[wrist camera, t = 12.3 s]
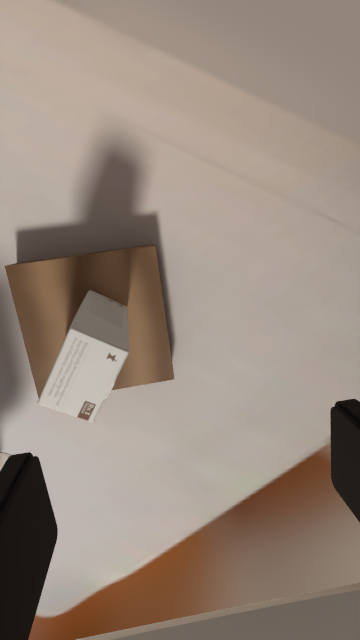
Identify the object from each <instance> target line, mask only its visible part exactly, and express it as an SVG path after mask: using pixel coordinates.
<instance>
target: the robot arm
mask: <svg viewBox="0 0 360 640" xmlns="http://www.w3.org/2000/svg"><path fill="white" fill-rule="evenodd" d="M331 479H332V482H333V485H334V487H335V489H336V491H337V492H338V493H339V495H340V496H341V497H342V499H343V500H344V501H345V503H346V504H347V506H348V507H349V508H350V510H351V511H352V512H353V514H354V515H355V516H356V518H357V519H358V521H359V522H360V402H359V401H358V400H356V399H350V400H344V401H338V402H336V404H335V407H332V408H331ZM56 540H57V524H56V520H55V517H54V513H53V509H52V506H51V502H50V498H49V494H48V491H47V487H46V483H45V480H44V476H43V472H42V468H41V465H40V461H39V458H38V457H37V456H34V457H33V455H32V454H31V453H23V454H16V455H11V456H9V457H8V459H7V460H6V462H5V464H4V465H3V467H2V469H1V470H0V640H28V638H29V634H30V631H31V627H32V624H33V621H34V617H35V614H36V610H37V607H38V603H39V600H40V596H41V593H42V589H43V586H44V582H45V579H46V575H47V572H48V568H49V565H50V561H51V558H52V554H53V551H54V547H55V544H56ZM77 640H360V583H356V584H351V585H345V586H340V587H335V588H330V589H325V590H320V591H314V592H309V593H304V594H299V595H294V596H289V597H284V598H279V599H274V600H268V601H264V602H259V603H254V604H249V605H244V606H238V607H233V608H228V609H223V610H218V611H214V612H208V613H203V614H199V615H194V616H188V617H183V618H179V619H173V620H169V621H164V622H159V623H154V624H149V625H144V626H140V627H135V628H130V629H125V630H120V631H115V632H110V633H106V634H101V635H96V636H91V637H86V638H81V639H77Z"/></svg>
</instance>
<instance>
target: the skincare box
mask: <svg viewBox="0 0 360 640" xmlns="http://www.w3.org/2000/svg"><path fill="white" fill-rule="evenodd" d="M128 354H129V333H128V308H127V307H126V306H124V305H122V304H120V303H118V302H116V301H114V300H111V299H109V298H107V297H105V296H103V295H101V294H98V293H96V292H94V291H91V290H89V291H88V292H87V294H86V296H85V298H84V300H83V302H82V303H81V305H80V307H79V309H78V311H77V313H76V315H75V317H74V320H73V322H72V324H71V326H70V328H69V330H68V333H67V335H66V337H65V339H64V342H63V344H62V346H61V348H60V351H59V353H58V355H57V358H56V360H55V362H54V365H53V367H52V369H51V372H50V374H49V376H48V379H47V381H46V383H45V386H44V388H43V391H42V393H41V396H40V398H39V400H38V402H37V403H38V404H39V405H43V406H46V407H48V408H51V409H54V410H57V411H60V412H63V413H66V414H69V415H72V416H75V417H77V418H80V419H83V420H86V421H89V422H91V423H93V422H94V421H95V419H96V417H97V415H98V413H99V411H100V409H101V407H102V405H103V403H104V402H105V400H106V398H107V396H108V395H109V394H110V392H111V390H112V388H113V386H114V384H115V380H116V378H117V376H118V374H119V372H120V370H121V368H122V366H123V364H124V362H125V360H126V358H127V356H128Z"/></svg>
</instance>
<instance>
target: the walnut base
mask: <svg viewBox="0 0 360 640" xmlns="http://www.w3.org/2000/svg"><path fill="white" fill-rule="evenodd" d="M5 269H6V272H7V276H8V280H9V284H10V288H11V292H12V296H13V300H14V304H15V308H16V311H17V315H18V319H19V323H20V327H21V331H22V335H23V339H24V343H25V347H26V351H27V354H28V358H29V362H30V366H31V370H32V374H33V378H34V382H35V386H36V390H37V394H38V397H39V398H40V396H41V393H42V391H43V388H44V386H45V383H46V381H47V379H48V376H49V374H50V372H51V369H52V367H53V365H54V362H55V360H56V358H57V355H58V353H59V351H60V348H61V346H62V344H63V342H64V339H65V337H66V335H67V333H68V330H69V328H70V326H71V324H72V322H73V320H74V317H75V315H76V313H77V311H78V309H79V307H80V305H81V303H82V302H83V300H84V298H85V296H86V294H87V292H88V291H89V290H91V291H94V292H96V293H98V294H101V295H103V296H105V297H107V298H109V299H111V300H114V301H116V302H118V303H120V304H122V305H124V306H126V307H127V308H128V333H129V354H128V356H127V358H126V360H125V362H124V364H123V366H122V368H121V370H120V372H119V374H118V376H117V378H116V380H115V384H114V386H113V388H112V390H115V389H121V388H127V387H132V386H138V385H144V384H149V383H155V382H161V381H167V380H172V379H174V373H173V366H172V358H171V351H170V344H169V337H168V330H167V323H166V316H165V309H164V302H163V295H162V288H161V281H160V274H159V267H158V260H157V253H156V246H155V245H148V246H141V247H133V248H126V249H118V250H111V251H103V252H96V253H89V254H81V255H74V256H66V257H59V258H52V259H44V260H37V261H29V262H22V263H16V264H11V265H7V266H5Z"/></svg>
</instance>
